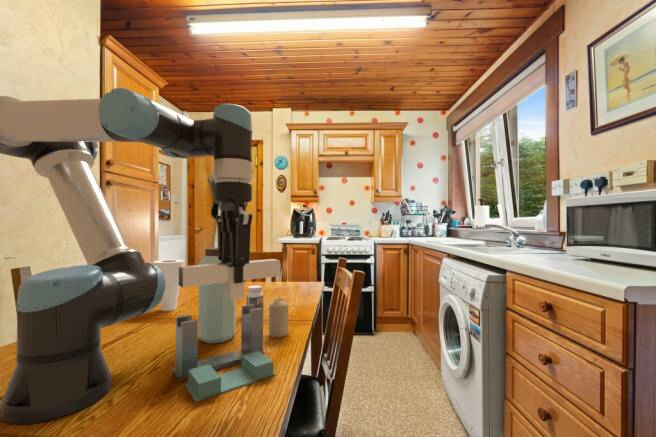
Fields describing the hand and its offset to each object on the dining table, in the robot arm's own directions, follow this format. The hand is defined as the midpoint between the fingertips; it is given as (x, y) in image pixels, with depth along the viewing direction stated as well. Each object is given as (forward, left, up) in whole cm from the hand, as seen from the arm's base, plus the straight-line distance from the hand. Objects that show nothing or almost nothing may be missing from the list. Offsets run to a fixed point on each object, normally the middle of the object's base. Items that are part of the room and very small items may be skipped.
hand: (232, 297), depth 64 cm
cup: (+2, +67, -17) cm, 69 cm away
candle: (+21, +18, -17) cm, 32 cm away
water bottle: (+6, +26, -17) cm, 32 cm away
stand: (+1, +9, -17) cm, 19 cm away
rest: (0, 0, -17) cm, 17 cm away
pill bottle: (+24, +40, -17) cm, 50 cm away
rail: (0, 0, +3) cm, 3 cm away
